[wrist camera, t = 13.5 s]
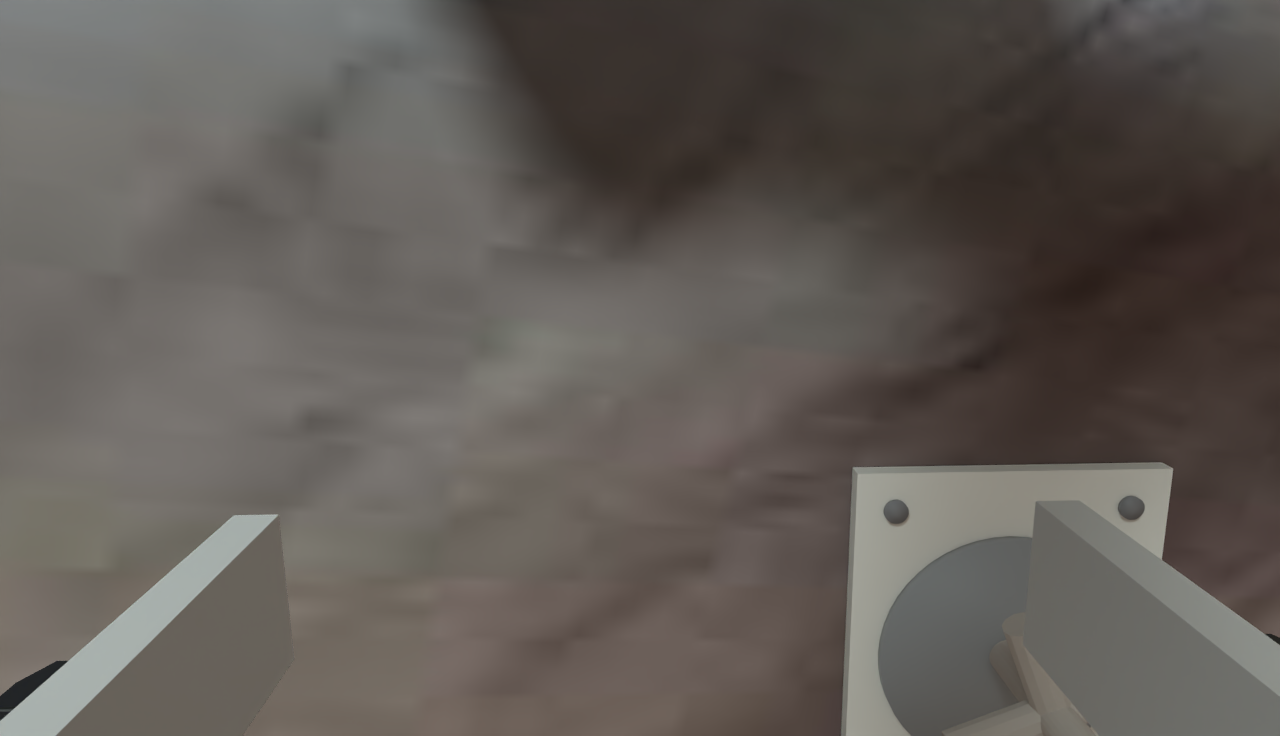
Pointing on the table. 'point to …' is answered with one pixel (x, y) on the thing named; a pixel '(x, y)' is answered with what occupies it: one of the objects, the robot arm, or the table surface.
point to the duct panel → (959, 579)
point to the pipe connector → (1024, 695)
